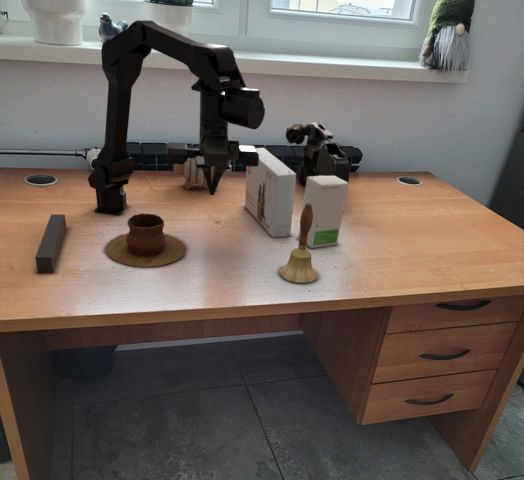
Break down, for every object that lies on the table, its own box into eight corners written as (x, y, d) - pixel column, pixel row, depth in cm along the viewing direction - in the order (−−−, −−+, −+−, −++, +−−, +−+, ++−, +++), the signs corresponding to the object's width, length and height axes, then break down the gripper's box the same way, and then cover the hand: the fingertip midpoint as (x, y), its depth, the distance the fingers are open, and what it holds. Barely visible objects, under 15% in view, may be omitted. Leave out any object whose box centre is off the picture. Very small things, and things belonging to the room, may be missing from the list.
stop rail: (38, 272, 104) (35, 257, 102) (53, 228, 121) (51, 214, 119) (53, 272, 105) (50, 257, 103) (66, 228, 122) (64, 214, 120)
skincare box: (242, 206, 143) (246, 147, 134) (260, 205, 145) (265, 147, 135) (271, 238, 128) (277, 174, 118) (291, 236, 130) (299, 173, 120)
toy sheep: (173, 180, 155) (172, 142, 148) (228, 182, 158) (230, 145, 151) (173, 192, 147) (173, 153, 140) (232, 194, 150) (234, 155, 143)
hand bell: (277, 265, 116) (285, 196, 107) (313, 266, 117) (324, 198, 108) (281, 283, 110) (290, 211, 100) (319, 284, 111) (332, 213, 101)
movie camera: (274, 171, 168) (283, 115, 157) (325, 175, 172) (337, 120, 162) (299, 211, 145) (311, 148, 134) (357, 214, 149) (374, 154, 138)
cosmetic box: (310, 249, 125) (320, 185, 115) (296, 238, 129) (304, 176, 120) (338, 244, 128) (350, 182, 119) (324, 234, 133) (334, 173, 123)
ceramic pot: (202, 253, 118) (202, 224, 114) (137, 275, 107) (135, 244, 103) (153, 226, 127) (152, 199, 123) (90, 245, 116) (86, 215, 112)
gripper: (168, 126, 95) (169, 208, 104) (267, 131, 98) (260, 209, 108) (166, 112, 103) (167, 188, 113) (257, 117, 107) (251, 190, 116)
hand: (211, 194), depth 112 cm, fingers closed
